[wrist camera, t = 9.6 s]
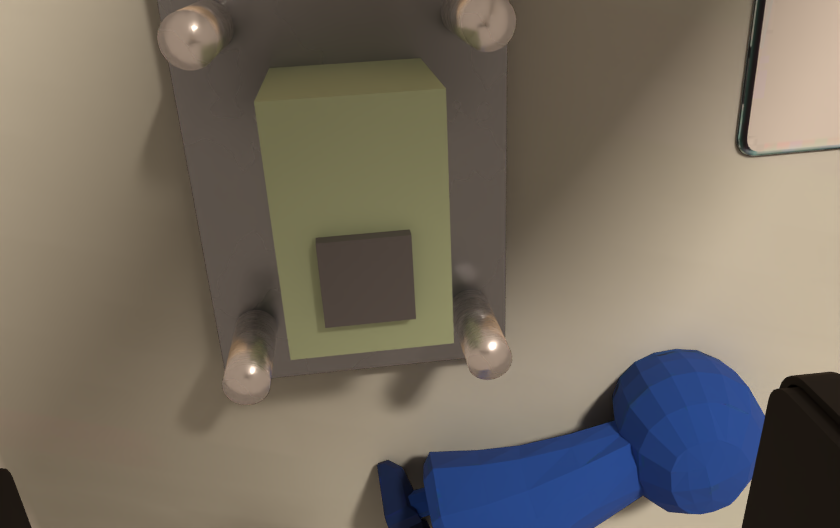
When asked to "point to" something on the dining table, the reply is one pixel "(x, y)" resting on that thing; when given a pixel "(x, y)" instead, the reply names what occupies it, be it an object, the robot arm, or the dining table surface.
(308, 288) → the block
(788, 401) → the robot arm
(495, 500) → the toy
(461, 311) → the chassis
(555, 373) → the dining table surface
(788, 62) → the smartphone
